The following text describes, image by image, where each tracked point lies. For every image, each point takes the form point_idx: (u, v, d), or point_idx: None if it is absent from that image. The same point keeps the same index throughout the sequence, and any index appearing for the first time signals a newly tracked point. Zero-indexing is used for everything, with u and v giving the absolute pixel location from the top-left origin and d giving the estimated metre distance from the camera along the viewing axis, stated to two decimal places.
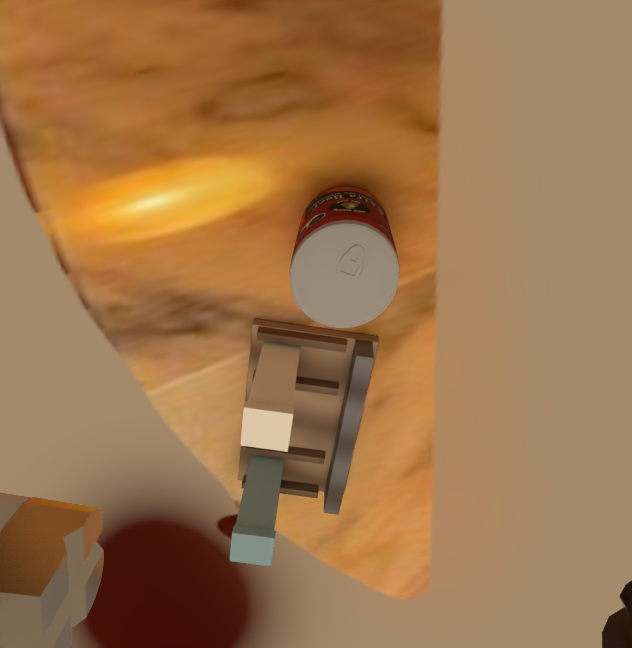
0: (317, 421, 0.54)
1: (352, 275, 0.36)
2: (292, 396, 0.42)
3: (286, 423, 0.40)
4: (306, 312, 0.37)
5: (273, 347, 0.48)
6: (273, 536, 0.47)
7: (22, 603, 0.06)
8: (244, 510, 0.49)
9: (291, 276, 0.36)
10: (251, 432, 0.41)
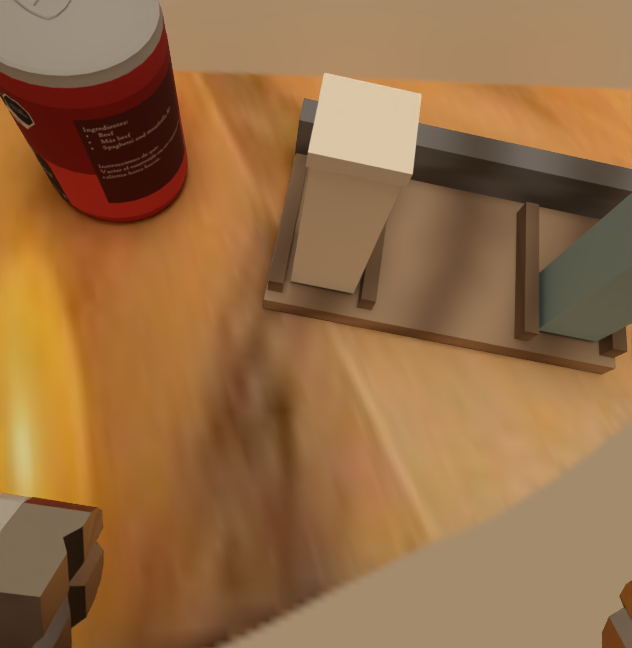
0: (457, 218, 0.32)
1: None
2: None
3: (349, 86, 0.20)
4: (118, 58, 0.21)
5: None
6: None
7: (20, 603, 0.06)
8: None
9: (39, 70, 0.20)
10: (375, 148, 0.19)
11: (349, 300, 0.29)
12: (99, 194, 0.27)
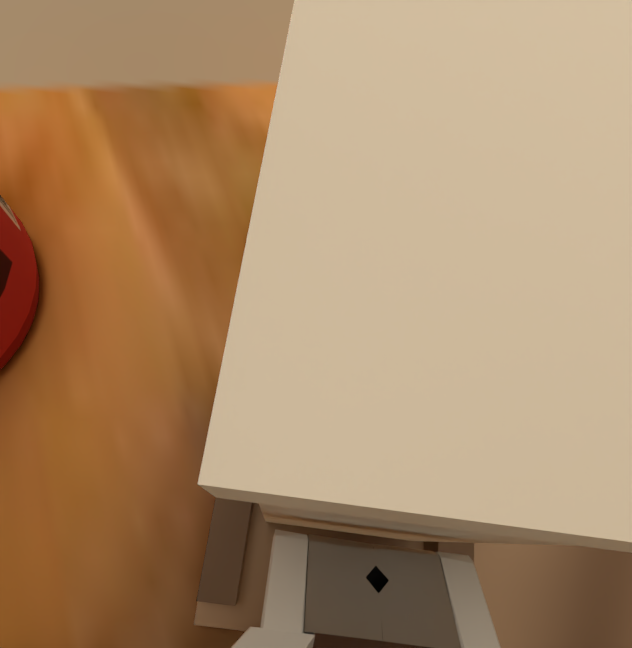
0: None
1: None
2: None
3: None
4: None
5: None
6: None
7: (362, 646, 0.06)
8: None
9: None
10: None
11: None
12: None
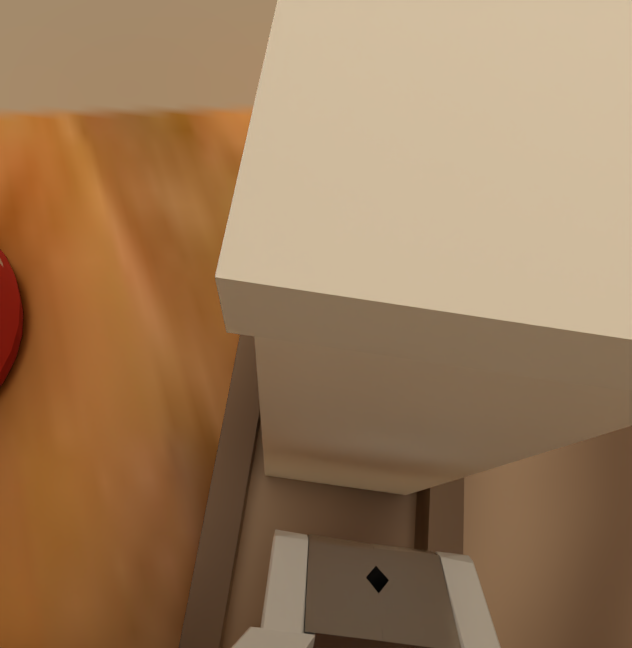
0: None
1: None
2: None
3: None
4: None
5: None
6: None
7: (362, 646, 0.06)
8: None
9: None
10: (631, 220, 0.03)
11: None
12: None
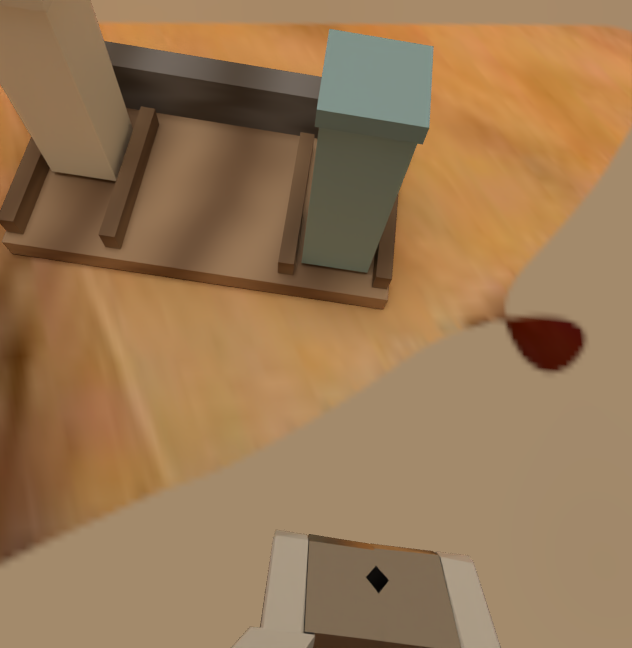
0: (231, 154, 0.30)
1: None
2: None
3: None
4: None
5: None
6: (328, 36, 0.19)
7: (362, 646, 0.06)
8: None
9: None
10: None
11: (97, 240, 0.27)
12: None
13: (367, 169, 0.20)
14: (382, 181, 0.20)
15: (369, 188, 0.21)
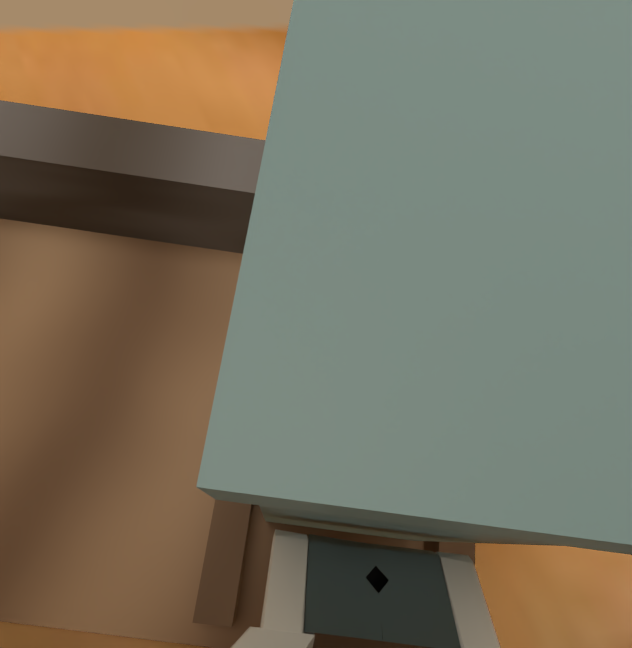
0: (116, 304, 0.14)
1: None
2: None
3: None
4: None
5: None
6: None
7: (362, 646, 0.06)
8: None
9: None
10: None
11: None
12: None
13: None
14: None
15: (464, 532, 0.06)
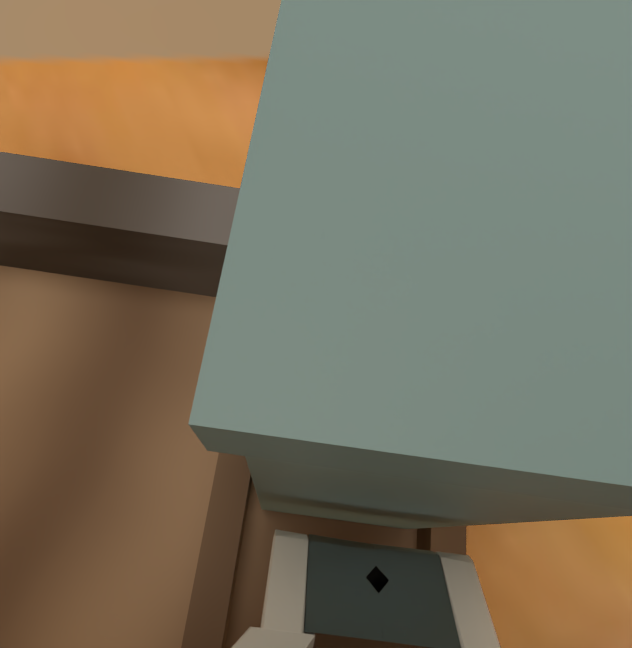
0: (99, 354, 0.14)
1: None
2: None
3: None
4: None
5: None
6: None
7: (362, 646, 0.06)
8: None
9: None
10: None
11: None
12: None
13: (459, 496, 0.05)
14: (503, 509, 0.06)
15: (449, 507, 0.06)
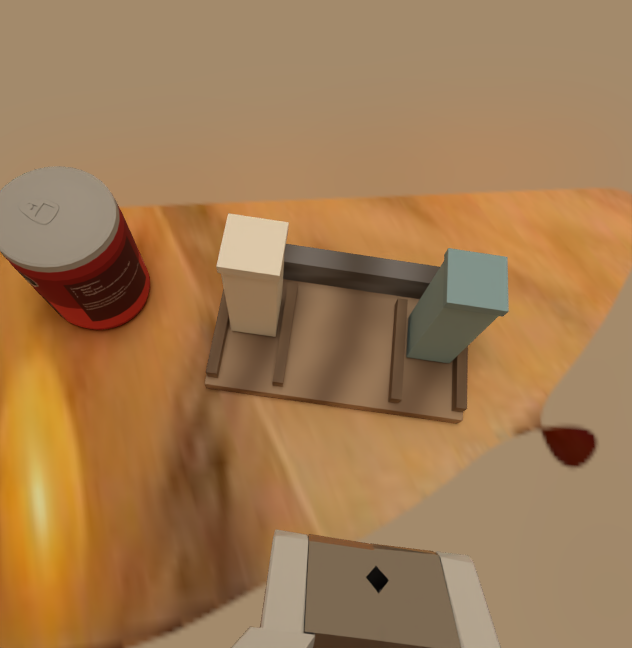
0: (349, 312, 0.43)
1: (53, 208, 0.34)
2: None
3: (243, 221, 0.32)
4: (89, 251, 0.32)
5: None
6: (447, 251, 0.33)
7: (362, 646, 0.06)
8: (436, 311, 0.34)
9: (40, 265, 0.32)
10: (257, 260, 0.31)
11: (267, 380, 0.40)
12: (85, 317, 0.39)
13: (466, 322, 0.34)
14: (473, 327, 0.35)
15: (464, 329, 0.35)
